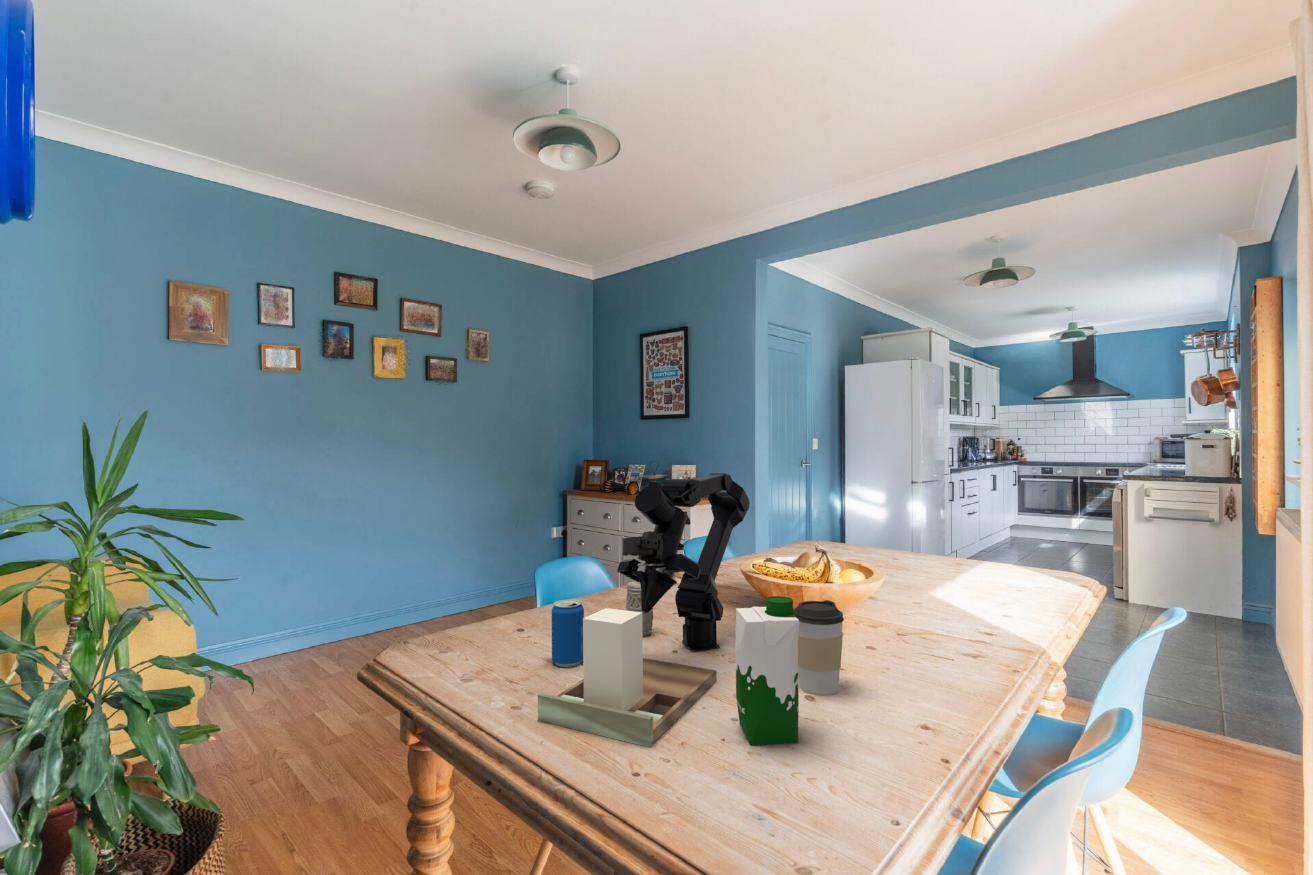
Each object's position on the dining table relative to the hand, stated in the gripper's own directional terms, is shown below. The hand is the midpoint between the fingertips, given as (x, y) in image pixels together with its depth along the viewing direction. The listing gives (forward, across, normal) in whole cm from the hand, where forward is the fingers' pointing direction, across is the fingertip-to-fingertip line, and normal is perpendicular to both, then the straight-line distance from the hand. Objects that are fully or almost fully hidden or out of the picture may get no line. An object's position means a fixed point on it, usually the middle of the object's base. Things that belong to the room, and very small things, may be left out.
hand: (644, 612), depth 111 cm
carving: (-2, -25, +18) cm, 31 cm away
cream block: (+17, +6, -5) cm, 19 cm away
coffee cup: (+4, +20, +27) cm, 34 cm away
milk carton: (+15, +25, +10) cm, 31 cm away
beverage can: (+11, -20, 0) cm, 23 cm away
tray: (+15, +2, +1) cm, 15 cm away
